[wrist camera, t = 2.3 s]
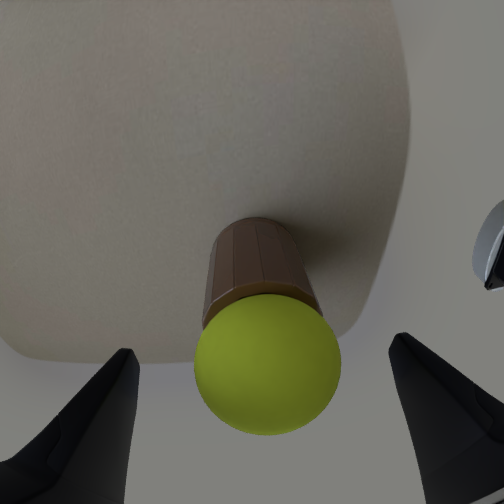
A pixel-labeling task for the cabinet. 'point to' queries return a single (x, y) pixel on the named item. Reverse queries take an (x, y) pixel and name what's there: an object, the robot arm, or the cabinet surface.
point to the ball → (267, 364)
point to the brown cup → (255, 267)
